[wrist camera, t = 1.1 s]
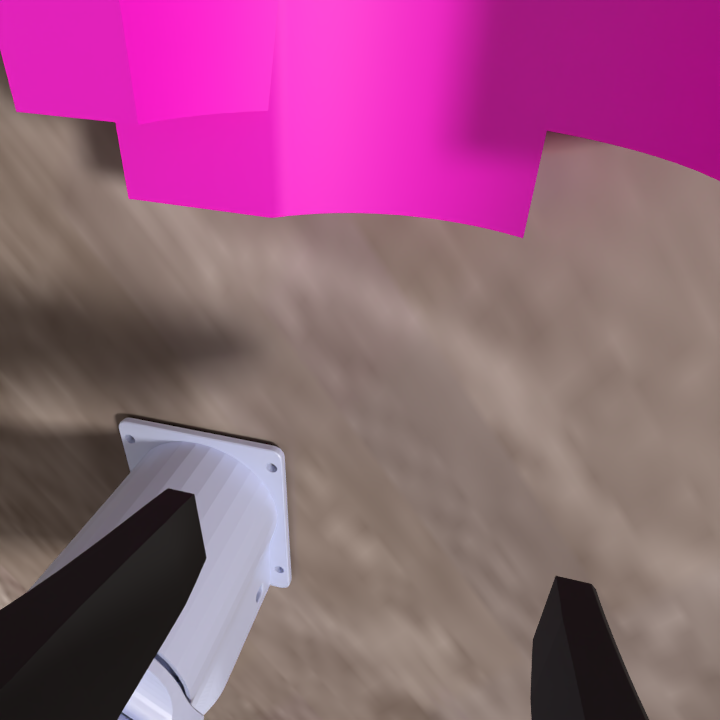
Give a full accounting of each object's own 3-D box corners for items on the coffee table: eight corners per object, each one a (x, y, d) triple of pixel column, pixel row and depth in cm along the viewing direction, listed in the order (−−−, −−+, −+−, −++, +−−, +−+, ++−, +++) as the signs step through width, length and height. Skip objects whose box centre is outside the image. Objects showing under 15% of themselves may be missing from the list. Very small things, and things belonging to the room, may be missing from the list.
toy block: (207, 163, 18) (48, 234, 12) (185, -73, 15) (-51, -144, 9) (687, 219, 16) (799, 347, 9) (791, -52, 12) (1071, -132, 6)
